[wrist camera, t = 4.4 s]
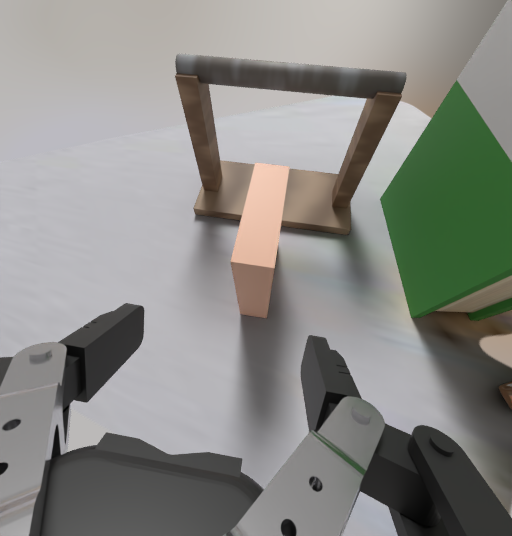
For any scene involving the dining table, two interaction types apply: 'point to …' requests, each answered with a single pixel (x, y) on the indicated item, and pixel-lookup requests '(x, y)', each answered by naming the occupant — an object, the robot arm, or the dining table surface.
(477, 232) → the hardback book
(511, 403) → the tin
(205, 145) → the wooden rack with bar
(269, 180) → the pink c-shaped hook
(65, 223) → the dining table surface
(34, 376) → the robot arm
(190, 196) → the dining table surface
